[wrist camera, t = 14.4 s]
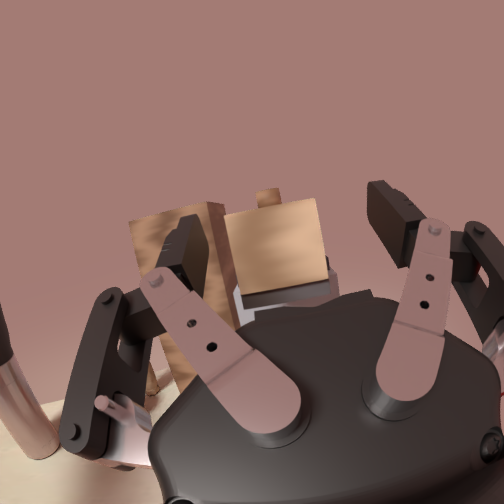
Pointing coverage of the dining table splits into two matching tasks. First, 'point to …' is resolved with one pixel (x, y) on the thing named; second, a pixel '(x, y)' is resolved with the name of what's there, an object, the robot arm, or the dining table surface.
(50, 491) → the dining table surface
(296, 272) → the stamp
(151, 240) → the shelf block
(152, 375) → the handle
